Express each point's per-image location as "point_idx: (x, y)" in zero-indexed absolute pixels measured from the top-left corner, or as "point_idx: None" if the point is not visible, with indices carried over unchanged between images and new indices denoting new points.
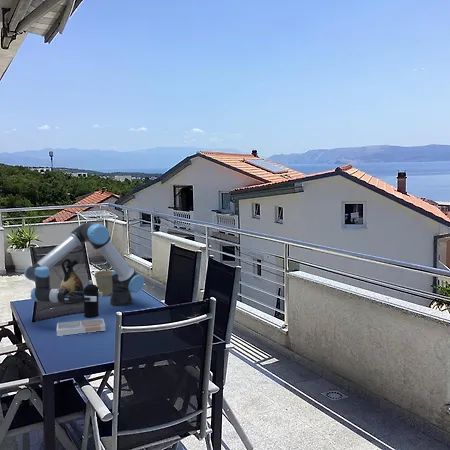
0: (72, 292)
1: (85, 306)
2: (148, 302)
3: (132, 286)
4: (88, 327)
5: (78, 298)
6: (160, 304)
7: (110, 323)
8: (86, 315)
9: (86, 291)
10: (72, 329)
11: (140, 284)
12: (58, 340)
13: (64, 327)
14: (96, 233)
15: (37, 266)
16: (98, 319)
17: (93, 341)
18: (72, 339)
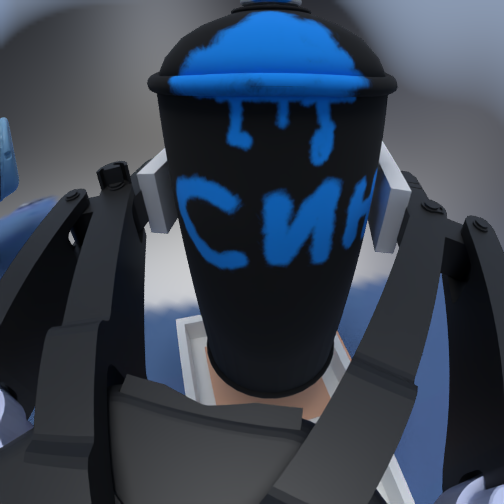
0: (97, 494)
1: (340, 311)
2: (9, 226)
3: (13, 161)
4: None
5: (496, 253)
6: (44, 202)
7: (177, 310)
8: (327, 356)
9: (385, 109)
10: (393, 459)
11: (13, 152)
12: None
13: None
14: None
15: None
16: (187, 343)
17: (439, 328)
18: (440, 433)
